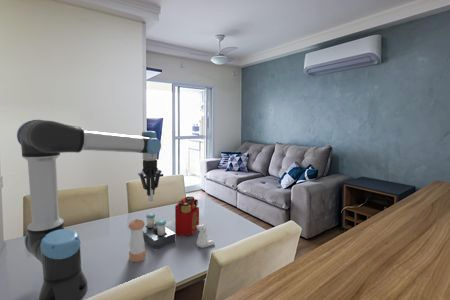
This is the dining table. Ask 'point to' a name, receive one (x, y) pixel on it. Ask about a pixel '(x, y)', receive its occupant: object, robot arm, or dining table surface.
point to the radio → (186, 216)
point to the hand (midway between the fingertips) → (150, 200)
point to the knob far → (150, 220)
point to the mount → (157, 241)
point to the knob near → (161, 227)
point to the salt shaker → (136, 241)
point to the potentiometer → (155, 226)
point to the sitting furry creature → (203, 237)
